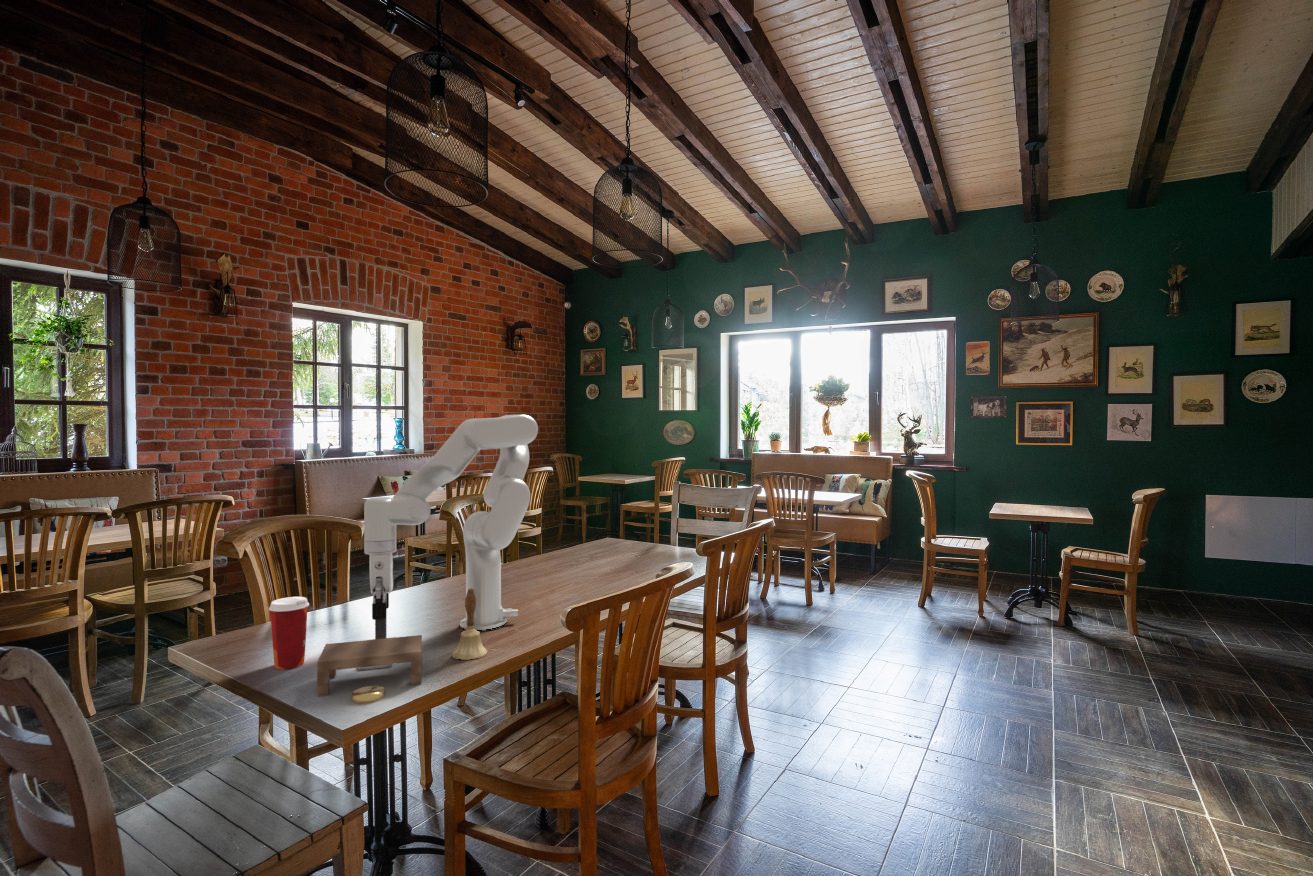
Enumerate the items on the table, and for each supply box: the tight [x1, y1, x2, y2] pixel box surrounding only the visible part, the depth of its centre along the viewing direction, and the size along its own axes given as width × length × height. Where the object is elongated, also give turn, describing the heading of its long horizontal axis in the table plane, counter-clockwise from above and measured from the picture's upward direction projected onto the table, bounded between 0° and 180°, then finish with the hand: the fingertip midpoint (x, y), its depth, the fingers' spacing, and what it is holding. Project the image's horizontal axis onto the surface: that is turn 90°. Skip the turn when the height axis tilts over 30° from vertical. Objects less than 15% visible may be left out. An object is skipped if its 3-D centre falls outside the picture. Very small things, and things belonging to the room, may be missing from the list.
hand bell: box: [451, 589, 488, 661], centre depth 159 cm, size 8×8×16 cm
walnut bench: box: [316, 634, 423, 697], centre depth 143 cm, size 20×12×7 cm, turn 109°
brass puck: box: [351, 685, 385, 705], centre depth 133 cm, size 6×6×2 cm
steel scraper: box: [358, 590, 396, 671], centre depth 159 cm, size 7×19×15 cm, turn 19°
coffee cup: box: [268, 596, 310, 671], centre depth 152 cm, size 8×8×15 cm
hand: (380, 613), depth 166 cm, fingers open, 9 cm apart
